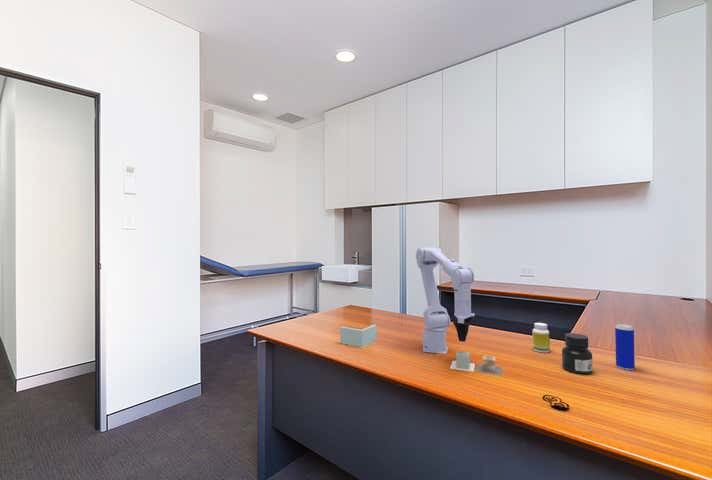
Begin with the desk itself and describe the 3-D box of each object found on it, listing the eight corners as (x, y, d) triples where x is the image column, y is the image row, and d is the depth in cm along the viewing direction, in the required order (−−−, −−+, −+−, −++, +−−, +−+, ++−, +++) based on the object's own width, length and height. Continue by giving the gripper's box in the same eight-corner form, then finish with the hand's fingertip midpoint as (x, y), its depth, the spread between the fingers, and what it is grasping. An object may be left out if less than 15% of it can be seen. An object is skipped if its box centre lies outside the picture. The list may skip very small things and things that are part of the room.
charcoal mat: (476, 373, 112) (476, 372, 112) (477, 365, 120) (477, 363, 120) (501, 377, 109) (501, 375, 109) (501, 368, 116) (501, 366, 116)
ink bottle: (582, 377, 108) (582, 341, 108) (556, 368, 116) (555, 334, 116) (598, 371, 112) (597, 336, 112) (571, 363, 120) (571, 330, 120)
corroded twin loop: (556, 412, 87) (556, 408, 87) (538, 398, 95) (538, 394, 95) (574, 411, 87) (574, 408, 87) (554, 397, 95) (554, 394, 95)
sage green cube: (456, 367, 117) (455, 355, 117) (457, 363, 121) (457, 351, 121) (469, 369, 115) (469, 356, 115) (469, 364, 119) (469, 352, 119)
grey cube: (483, 370, 113) (482, 359, 113) (483, 366, 117) (483, 355, 117) (495, 372, 112) (495, 360, 112) (495, 368, 115) (495, 356, 115)
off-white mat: (450, 369, 116) (450, 368, 116) (452, 362, 123) (452, 360, 123) (473, 373, 113) (473, 371, 113) (475, 364, 120) (474, 363, 120)
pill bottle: (552, 353, 130) (551, 326, 130) (535, 352, 132) (535, 325, 132) (546, 348, 136) (546, 322, 137) (530, 347, 138) (530, 321, 138)
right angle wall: (376, 340, 151) (376, 324, 151) (362, 347, 141) (361, 330, 141) (355, 336, 158) (355, 321, 158) (340, 343, 148) (340, 327, 148)
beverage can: (630, 365, 117) (629, 324, 117) (637, 371, 112) (636, 328, 112) (613, 364, 118) (612, 323, 118) (619, 369, 113) (618, 327, 113)
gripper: (472, 305, 110) (473, 345, 110) (475, 298, 124) (476, 333, 124) (451, 304, 113) (452, 343, 113) (456, 297, 127) (456, 332, 127)
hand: (463, 338), depth 119 cm, fingers open, 7 cm apart
